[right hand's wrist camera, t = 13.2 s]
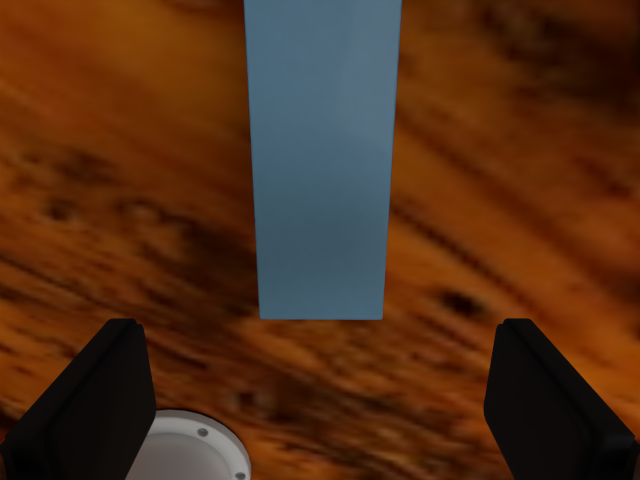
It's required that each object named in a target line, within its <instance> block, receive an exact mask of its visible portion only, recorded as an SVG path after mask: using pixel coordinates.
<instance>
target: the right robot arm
mask: <svg viewBox="0 0 640 480" xmlns="http://www.w3.org/2000/svg"><path fill="white" fill-rule="evenodd" d="M484 416H485V420H486V422H487V424H488V426H489V428H490V430H491V432H492V434H493V436H494V438H495V440H496V442H497V444H498V446H499V448H500V450H501V452H502V454H503V457H504V459H505V461H506V463H507V465H508V467H509V469H510V471H511V473H512V475H513V477H514V479H515V480H640V445H639V444H638V443H637V441H636V440H635V439H634V438H635V435H634V434H633V433H632V432H631V431H630V430H629V429H628V428H627V427H626V425H625V424H624V423H623V422H622V421H621V420H620V419H619V418H618V416H617V415H616V414H615V413H614V412H613V411H612V410H611V409H610V408H609V406H608V405H607V404H606V403H605V402H604V401H603V400H602V399H601V397H600V396H599V395H598V394H597V393H596V392H595V391H594V390H593V389H592V387H591V386H590V385H589V384H588V383H587V382H586V381H585V380H584V378H583V377H582V376H581V375H580V374H579V373H578V372H577V371H576V370H575V368H574V367H573V366H572V365H571V364H570V363H569V362H568V361H567V359H566V358H565V357H564V356H563V355H562V354H561V353H560V352H559V351H558V349H557V348H556V347H555V346H554V345H553V344H552V343H551V342H550V340H549V339H548V338H547V337H546V336H545V335H544V334H543V333H542V332H541V330H540V329H539V328H538V327H537V326H536V325H535V324H534V323H533V321H532V320H530V319H527V318H507V319H505V320H504V322H503V324H499V325H498V326H497V328H496V334H495V340H494V346H493V352H492V358H491V364H490V370H489V376H488V382H487V388H486V394H485V400H484ZM5 438H6V439H5V440H4V441H3V443H2V444H1V445H0V480H250V478H251V463H250V460H249V456H248V453H247V451H246V449H245V448H244V446H243V444H242V443H241V442H240V440H239V439H238V438H237V437H236V436H235V434H233V433H232V432H231V431H230V430H229V429H227V428H226V427H225V426H223V425H222V424H220V423H218V422H216V421H215V420H213V419H211V418H208V417H206V416H203V415H200V414H197V413H193V412H188V411H182V410H159V411H156V400H155V394H154V388H153V382H152V376H151V370H150V364H149V358H148V352H147V346H146V340H145V334H144V328H143V326H142V325H141V324H137V322H136V320H135V319H133V318H113V319H110V320H108V321H107V323H106V324H105V325H104V326H103V327H102V328H101V329H100V330H99V332H98V333H97V334H96V335H95V336H94V337H93V338H92V339H91V340H90V342H89V343H88V344H87V345H86V346H85V347H84V348H83V349H82V351H81V352H80V353H79V354H78V355H77V356H76V357H75V358H74V359H73V361H72V362H71V363H70V364H69V365H68V366H67V367H66V368H65V370H64V371H63V372H62V373H61V374H60V375H59V376H58V377H57V378H56V380H55V381H54V382H53V383H52V384H51V385H50V386H49V387H48V389H47V390H46V391H45V392H44V393H43V394H42V395H41V396H40V397H39V399H38V400H37V401H36V402H35V403H34V404H33V405H32V406H31V408H30V409H29V410H28V411H27V412H26V413H25V414H24V415H23V416H22V418H21V419H20V420H19V421H18V422H17V423H16V424H15V425H14V427H13V428H12V429H11V430H10V431H9V432H8V433H7V434H6V435H5Z"/></svg>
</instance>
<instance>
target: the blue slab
mask: <svg viewBox="0 0 640 480" xmlns="http://www.w3.org/2000/svg"><path fill="white" fill-rule="evenodd" d="M401 11H402V0H244V19H245V38H246V58H247V78H248V98H249V117H250V137H251V157H252V177H253V196H254V216H255V236H256V256H257V275H258V295H259V315H260V319H364V320H381V319H382V315H383V299H384V283H385V267H386V251H387V235H388V219H389V203H390V187H391V171H392V155H393V139H394V123H395V107H396V91H397V75H398V59H399V43H400V27H401Z"/></svg>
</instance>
